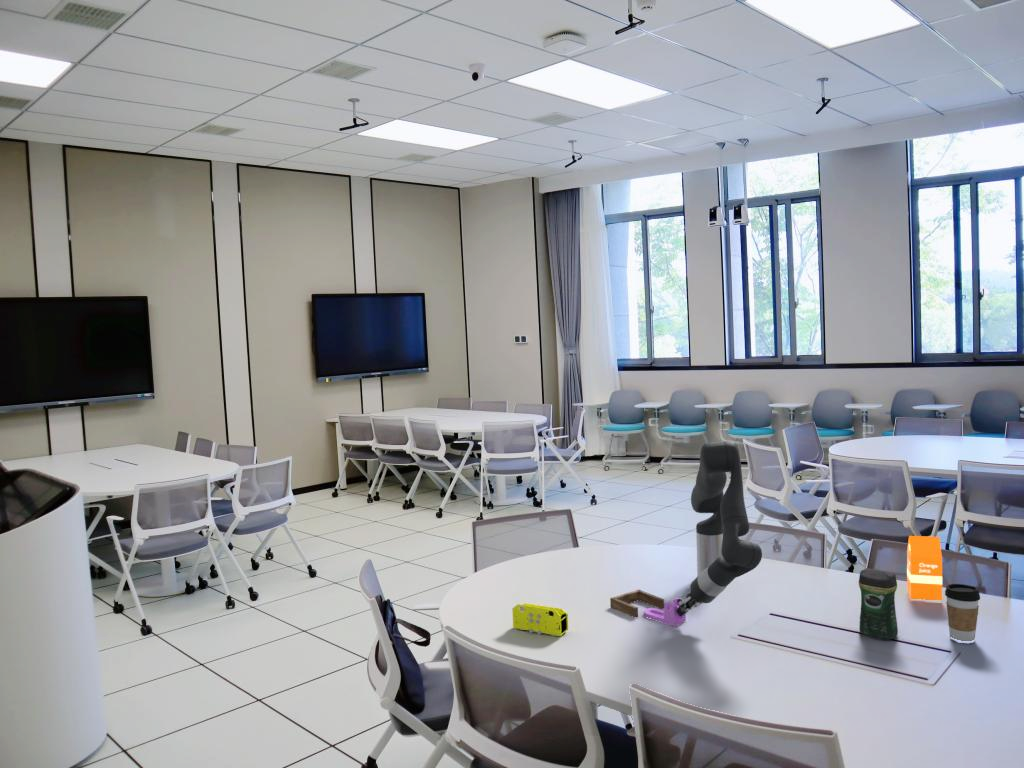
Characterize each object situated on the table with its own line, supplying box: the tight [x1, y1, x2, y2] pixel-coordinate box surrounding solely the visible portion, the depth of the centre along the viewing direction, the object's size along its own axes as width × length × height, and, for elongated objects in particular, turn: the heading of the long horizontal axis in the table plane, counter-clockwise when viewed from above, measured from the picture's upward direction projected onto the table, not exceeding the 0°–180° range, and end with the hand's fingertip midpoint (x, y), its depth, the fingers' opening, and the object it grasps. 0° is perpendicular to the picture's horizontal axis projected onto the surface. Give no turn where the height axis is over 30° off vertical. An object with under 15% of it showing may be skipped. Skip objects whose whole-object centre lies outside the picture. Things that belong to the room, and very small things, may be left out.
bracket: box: [643, 597, 687, 627], centre depth 236 cm, size 13×6×7 cm, turn 42°
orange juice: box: [906, 535, 943, 601], centre depth 244 cm, size 8×9×20 cm
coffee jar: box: [858, 567, 899, 641], centre depth 218 cm, size 10×8×19 cm
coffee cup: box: [944, 583, 981, 641], centre depth 212 cm, size 8×8×15 cm
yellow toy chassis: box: [512, 602, 569, 637], centre depth 231 cm, size 16×6×8 cm, turn 61°
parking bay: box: [609, 589, 665, 618], centre depth 246 cm, size 12×12×3 cm
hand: (679, 613), depth 231 cm, fingers closed
